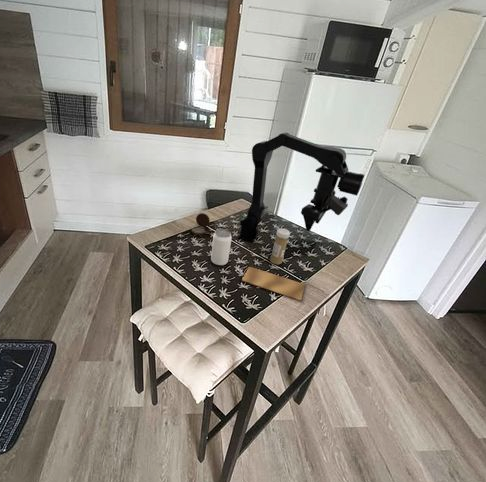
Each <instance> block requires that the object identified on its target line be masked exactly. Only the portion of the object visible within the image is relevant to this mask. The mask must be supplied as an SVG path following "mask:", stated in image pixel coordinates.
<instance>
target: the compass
mask: <svg viewBox="0 0 486 482" xmlns="http://www.w3.org/2000/svg"><path fill="white" fill-rule="evenodd" d="M195 221H196V224H197V225H198V226H194V227H192V228H191V231H190V232H191V233H192V234H193V235H196V236H203V235H205V234H206V235H208V234H210V232H207V230H206V229H205V227H207V226H209V225H210V217H209V215H208V214H206V213H205V212H200V213H199V214H197V215H196V217H195Z"/></svg>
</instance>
